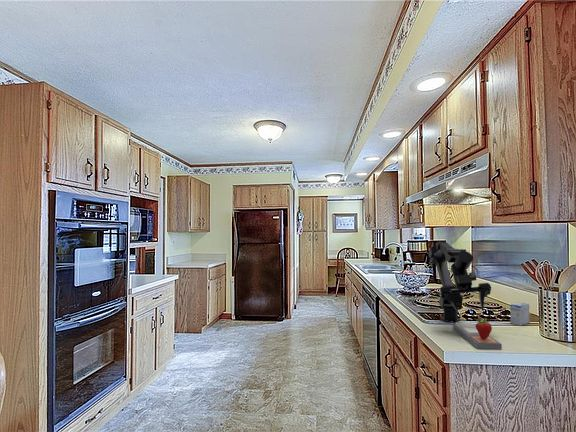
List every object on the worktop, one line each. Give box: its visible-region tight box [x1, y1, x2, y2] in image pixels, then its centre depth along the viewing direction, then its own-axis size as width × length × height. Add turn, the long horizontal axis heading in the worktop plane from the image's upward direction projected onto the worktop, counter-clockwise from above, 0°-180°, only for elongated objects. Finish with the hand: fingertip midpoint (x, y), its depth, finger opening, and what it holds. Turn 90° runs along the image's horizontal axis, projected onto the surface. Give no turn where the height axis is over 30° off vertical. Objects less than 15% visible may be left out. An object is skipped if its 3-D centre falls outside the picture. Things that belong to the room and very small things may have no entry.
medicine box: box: [509, 301, 530, 326], centre depth 158 cm, size 8×4×9 cm, turn 123°
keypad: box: [452, 321, 503, 350], centre depth 138 cm, size 22×8×3 cm, turn 175°
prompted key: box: [471, 336, 497, 343], centre depth 131 cm, size 6×6×2 cm
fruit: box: [475, 317, 493, 339], centre depth 131 cm, size 5×5×8 cm
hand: (470, 310), depth 140 cm, fingers open, 9 cm apart
